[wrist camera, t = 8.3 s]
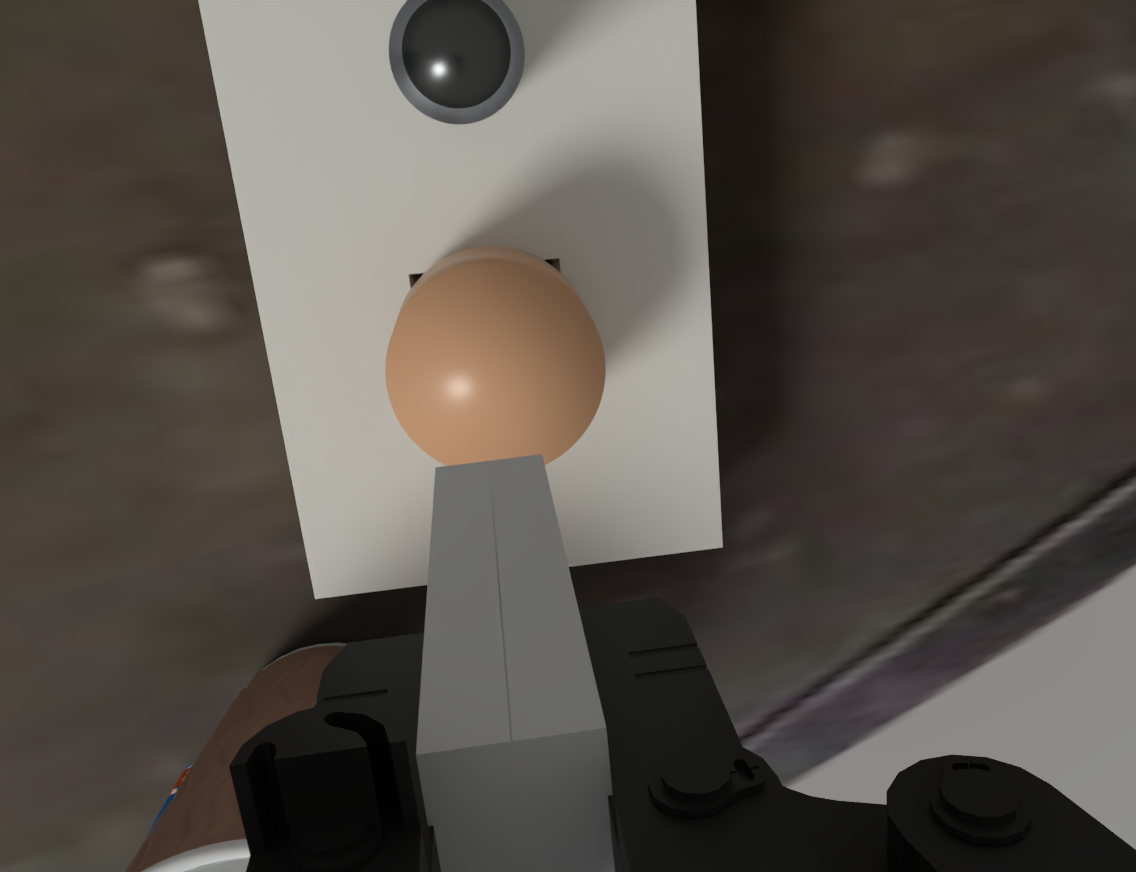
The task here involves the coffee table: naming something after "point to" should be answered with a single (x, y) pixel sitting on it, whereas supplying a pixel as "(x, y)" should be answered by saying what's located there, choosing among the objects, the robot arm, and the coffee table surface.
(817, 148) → the coffee table surface
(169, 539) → the coffee table surface
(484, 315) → the knob terracotta
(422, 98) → the pot post
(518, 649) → the robot arm
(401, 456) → the mount board
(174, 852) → the coffee cup
